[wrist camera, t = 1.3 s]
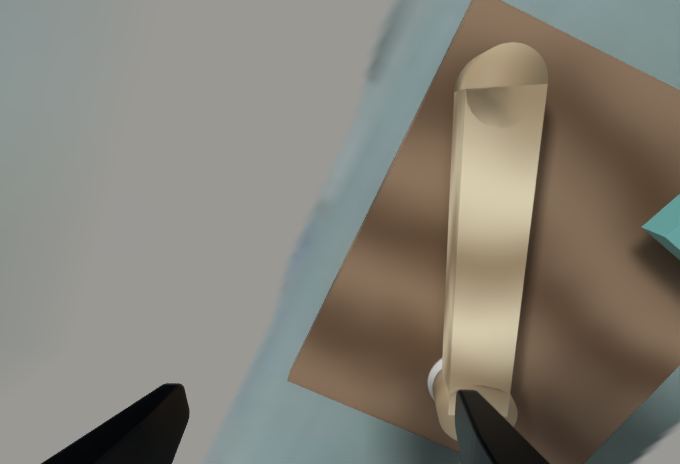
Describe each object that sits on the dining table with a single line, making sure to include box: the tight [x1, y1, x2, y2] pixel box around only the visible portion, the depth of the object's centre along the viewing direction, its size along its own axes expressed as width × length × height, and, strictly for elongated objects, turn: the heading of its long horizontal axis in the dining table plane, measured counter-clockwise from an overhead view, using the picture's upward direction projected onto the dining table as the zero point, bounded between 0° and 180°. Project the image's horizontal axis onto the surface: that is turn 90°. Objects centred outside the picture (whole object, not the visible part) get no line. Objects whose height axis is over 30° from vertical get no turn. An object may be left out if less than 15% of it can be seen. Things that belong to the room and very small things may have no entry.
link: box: [432, 42, 548, 441], centre depth 16 cm, size 20×4×4 cm, turn 3°
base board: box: [287, 0, 680, 464], centre depth 19 cm, size 22×19×1 cm
